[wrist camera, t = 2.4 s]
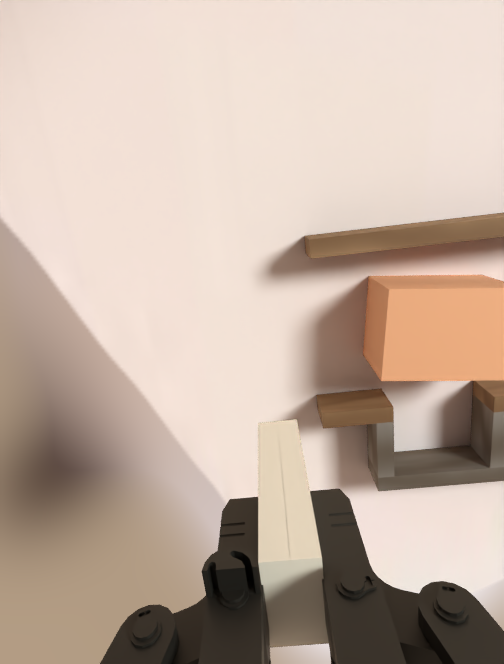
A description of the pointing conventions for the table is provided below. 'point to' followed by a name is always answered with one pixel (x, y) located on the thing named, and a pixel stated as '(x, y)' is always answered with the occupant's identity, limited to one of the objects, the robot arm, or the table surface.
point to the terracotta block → (435, 328)
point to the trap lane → (374, 407)
